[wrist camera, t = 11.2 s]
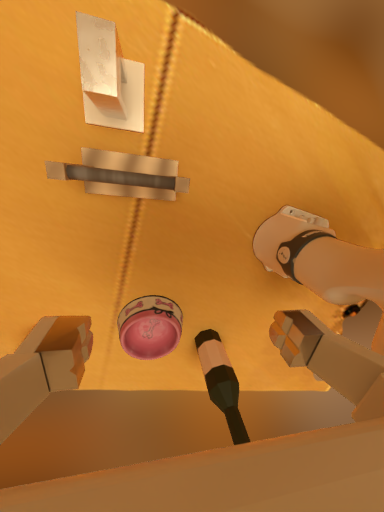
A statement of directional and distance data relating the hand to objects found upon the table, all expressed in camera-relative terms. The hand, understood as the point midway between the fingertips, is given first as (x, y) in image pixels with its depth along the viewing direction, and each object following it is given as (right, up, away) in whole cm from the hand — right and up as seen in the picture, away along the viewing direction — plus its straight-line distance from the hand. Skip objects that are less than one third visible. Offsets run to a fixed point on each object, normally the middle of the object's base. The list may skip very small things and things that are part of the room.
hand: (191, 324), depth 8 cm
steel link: (-13, +31, +25) cm, 42 cm away
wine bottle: (+5, -24, +54) cm, 59 cm away
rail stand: (-12, +19, +31) cm, 38 cm away
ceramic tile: (-14, +32, +25) cm, 43 cm away
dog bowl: (-12, -16, +47) cm, 51 cm away
